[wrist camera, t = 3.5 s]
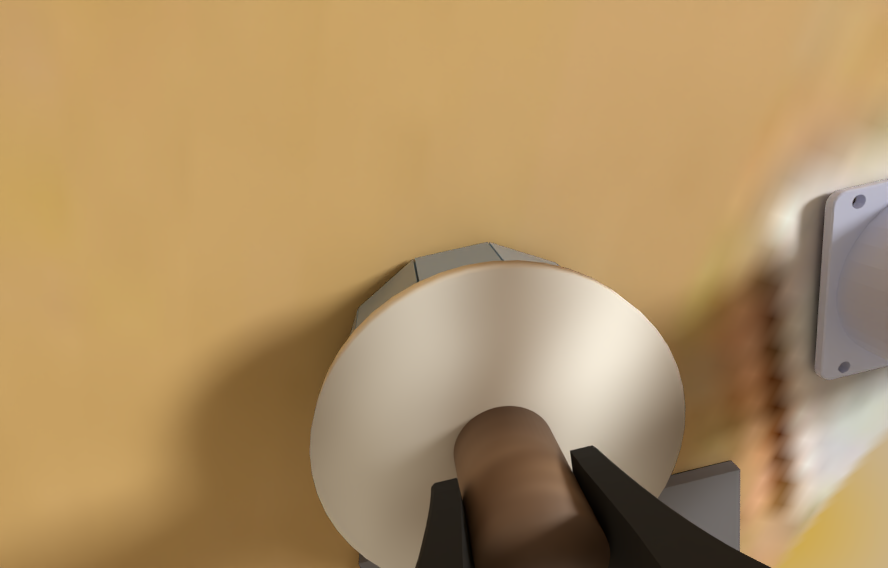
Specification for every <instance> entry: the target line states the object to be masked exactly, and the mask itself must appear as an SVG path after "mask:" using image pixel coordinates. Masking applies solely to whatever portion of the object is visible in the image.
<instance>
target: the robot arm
mask: <svg viewBox="0 0 888 568" xmlns="http://www.w3.org/2000/svg"><path fill="white" fill-rule="evenodd" d="M855 197H856V201H855V203H854V204H853V205H852V202H853V199H854V198H855ZM840 364H841V365H840ZM839 365H840V366H839ZM886 366H888V179H885V180H880V181H876V182H871V183H867V184H863V185H858V186H854V187H849V188H845V189H840V190H837V191H835V192H833V193H832V194H831V195H830V196H829V198H828V199H827V201H826V205H825V218H824V233H823V248H822V264H821V279H820V294H819V309H818V325H817V340H816V355H815V373H816V374H817V375H818V376H820V377H822V378H823V379H826V380H832V379H836V378H840V377H844V376H848V375H852V374H857V373H861V372H865V371H869V370H873V369H877V368H882V367H886ZM570 456H571V463H572V470H573V474H574V476H575V478H576V480H577V481H578V483H579V485H580V487H581V489H582V491H583V493H584V495H585V497H586V499H587V501H588V503H589V505H590V507H591V509H592V510H593V512H594V514H595V516H596V518H597V520H598V522H599V524H600V526H601V528H602V530H603V532H604V534H605V536H606V538H607V540H608V543H609V547H610V561H609V565H608V568H771V567H769V566H767V565H765V564H763V563H761V562H759V561H757V560H755V559H753V558H751V557H749V556H747V555H745V554H743V553H741V552H740V551H738V550H736V549H734V548H732V547H731V546H729V545H727V544H725V543H724V542H722V541H720V540H719V539H717V538H715V537H714V536H712V535H710V534H709V533H707V532H706V531H704V530H702V529H701V528H699V527H698V526H696V525H695V524H693V523H692V522H690V521H689V520H687V519H686V518H684V517H683V516H681V515H680V514H679V513H677V512H676V511H674V510H673V509H671V508H670V507H669V506H667V505H666V504H664V503H663V502H662V501H660V500H659V499H658V498H656V497H655V496H654V495H653V494H651V493H650V492H649V491H647V490H646V489H645V488H643V487H642V486H641V485H640V484H638V483H637V482H636V481H635V480H633V479H632V478H631V477H630V476H628V475H627V474H626V473H625V472H624V471H622V470H621V469H620V468H619V467H618V466H617V465H615V464H614V463H613V462H612V461H611V460H610V459H608V458H607V457H606V456H605V455H604V454H603V453H602V452H601V451H599V450H598V449H597V448H596V447H594V446H593V445H591V446H587V447H583V448H579V449H575V450H570ZM415 568H475V566H474V561H473V556H472V550H471V545H470V539H469V531H468V526H467V521H466V516H465V511H464V506H463V500H462V496H461V492H460V488H459V483H458V479H457V478H453V479H449V480H445V481H441V482H437V483H434V484H433V486H432V487H431V497H430V506H429V512H428V518H427V523H426V528H425V532H424V536H423V541H422V545H421V549H420V553H419V556H418V560H417V563H416V566H415Z"/></svg>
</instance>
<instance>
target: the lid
mask: <svg viewBox="0 0 888 568" xmlns="http://www.w3.org/2000/svg"><path fill="white" fill-rule="evenodd" d="M684 428H685V399H684V390H683V384H682V381H681V377H680V373H679V370H678V366H677V364H676V362H675V360H674V357H673V355H672V353H671V351H670V349H669V347H668V345H667V344H666V342H665V341H664V339H663V338H662V336H661V335H660V333H659V332H658V330H657V329H656V328H655V327H654V326H653V325H652V323H651V322H650V321H649V320H648V319H647V318H646V317H645V316H644V315H643V314H642V313H641V312H640V311H639V310H637V309H636V308H635V307H634V306H632V305H631V304H630V303H628V302H627V301H626V300H625V299H623V298H622V297H621V296H620V295H618V294H617V293H616V292H614V291H613V290H612V289H611V288H609V287H607V286H605V285H603V284H602V283H600V282H598V281H596V280H595V279H593V278H591V277H589V276H586V275H584V274H581V273H579V272H576V271H573V270H571V269H568V268H564V267H560V266H556V265H551V264H547V263H542V262H532V261H522V260H508V261H489V262H483V263H476V264H470V265H465V266H461V267H458V268H454V269H451V270H447V271H444V272H441V273H438V274H436V275H433V276H431V277H429V278H426V279H424V280H422V281H419V282H417V283H415V284H413V285H412V286H410V287H408V288H406V289H405V290H403V291H401V292H400V293H398V294H396V295H395V296H393V297H391V298H390V299H389V300H388V301H386V302H385V303H384V304H382V305H381V306H380V307H379V308H377V309H376V310H375V311H373V312H372V313H371V314H370V315H369V316H368V317H367V318H366V319H365V320H364V321H363V322H362V323H361V324H360V325H359V326H358V327H357V328H356V329H355V330H354V331H353V333H352V334H351V335H350V337H349V338H348V339H347V341H346V342H345V343H344V345H343V346H342V347H341V349H340V350H339V352H338V353H337V355H336V357H335V359H334V361H333V362H332V364H331V366H330V368H329V370H328V371H327V374H326V377H325V379H324V382H323V385H322V387H321V390H320V393H319V397H318V401H317V405H316V409H315V414H314V418H313V423H312V428H311V437H310V461H311V470H312V476H313V480H314V484H315V487H316V491H317V494H318V497H319V499H320V501H321V503H322V506H323V508H324V510H325V512H326V514H327V516H328V517H329V519H330V520H331V522H332V523H333V525H334V526H335V528H336V529H337V531H338V532H339V533H340V534H341V535H342V536H343V537H344V539H345V540H346V541H347V542H348V543H349V544H350V545H351V546H352V547H353V548H354V549H355V550H357V551H358V552H359V553H360V554H361V555H363V556H364V557H365V558H366V559H368V560H369V561H371V562H372V563H374V564H375V565H377V566H379V567H380V568H415V566H416V563H417V560H418V556H419V553H420V549H421V545H422V541H423V536H424V532H425V528H426V523H427V518H428V512H429V506H430V497H431V487H432V486H433V484H434V483H437V482H441V481H445V480H449V479H453V478H457V479H458V483H459V488H460V492H461V496H462V500H463V506H464V511H465V516H466V521H467V526H468V531H469V539H470V545H471V550H472V556H473V561H474V566H475V568H608V565H609V561H610V547H609V543H608V540H607V538H606V536H605V534H604V532H603V530H602V528H601V526H600V524H599V522H598V520H597V518H596V516H595V514H594V512H593V510H592V509H591V507H590V505H589V503H588V501H587V499H586V497H585V495H584V493H583V491H582V489H581V487H580V485H579V483H578V481H577V480H576V478H575V476H574V474H573V470H572V463H571V456H570V450H575V449H579V448H583V447H587V446H591V445H593V446H594V447H596V448H597V449H598V450H599V451H601V452H602V453H603V454H604V455H605V456H606V457H607V458H608V459H610V460H611V461H612V462H613V463H614V464H615V465H617V466H618V467H619V468H620V469H621V470H622V471H624V472H625V473H626V474H627V475H628V476H630V477H631V478H632V479H633V480H635V481H636V482H637V483H638V484H640V485H641V486H642V487H643V488H645V489H646V490H647V491H649V492H650V493H651V494H653V495H654V496H655V497H656V498H658V497H659V495H660V494H661V492H662V491H663V489H664V488H665V486H666V484H667V482H668V480H669V478H670V475H671V473H672V471H673V469H674V467H675V464H676V461H677V458H678V455H679V452H680V449H681V444H682V439H683V433H684Z"/></svg>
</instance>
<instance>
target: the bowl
mask: <svg viewBox="0 0 888 568" xmlns="http://www.w3.org/2000/svg"><path fill="white" fill-rule="evenodd" d="M508 260H522V261H532V262H542V263H547V264H551V265H556V266H559V265H558V264H556V263H555V262H552V261H548V260H545V259H542V258H539V257H535V256H532V255H529V254H526V253H523V252H519V251H516V250H513V249H510V248H506V247H503V246H500V245H497V244H494V243H490V242H489V244H488V243H487V242H485V243H481V244H476V245H472V246H467V247H463V248H458V249H454V250H449V251H445V252H440V253H436V254H431V255H427V256H423V257H418V258H415V261H414V260H413V259H412V260H411V261H410V262H409V263H408V264H407V265H406V266H405V267H404V268H402V269H401V270H400V271H399V272H398V273H397V274H396V275H395V276H393V277H392V278H391V279H390V280H389V281H388V282H387V283H386V284H384V285H383V286H382V287H381V288H380V289H379V290H378V291H377V292H375V293H374V294H373V295H372V296H371V297H370V298H369V299H368V300H367V301H365V302H364V303H363V304H362V305H361V306H360V307H359V309H358V310H357V313H356V317H355V320H354V323H353V327H352V330H351V333H350V335H351V334H352V333H353V331H354V330H355V329H356V328H357V327H358V326H359V325H360V324H361V323H362V322H363V321H364V320H365V319H366V318H367V317H368V316H369V315H370V314H371V313H372V312H373V311H375V310H376V309H377V308H379V307H380V306H381V305H382V304H384V303H385V302H386V301H388V300H389V299H390V298H391V297H393V296H395V295H396V294H398V293H400V292H401V291H403V290H405V289H406V288H408V287H410V286H412V285H413V284H415V283H417V282H419V281H422V280H424V279H426V278H429V277H431V276H433V275H436V274H438V273H441V272H444V271H447V270H451V269H454V268H458V267H461V266H465V265H470V264H476V263H483V262H489V261H508ZM349 337H350V336H349Z"/></svg>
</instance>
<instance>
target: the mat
mask: <svg viewBox="0 0 888 568" xmlns="http://www.w3.org/2000/svg"><path fill="white" fill-rule="evenodd" d="M658 499H659V500H660V501H662V502H663V503H664V504H666V505H667V506H669V507H670V508H671V509H673V510H674V511H676V512H677V513H679V514H680V515H681V516H683V517H684V518H686V519H687V520H689V521H690V522H692V523H693V524H695V525H696V526H698V527H699V528H701V529H702V530H704V531H706V532H707V533H709V534H710V535H712V536H714V537H715V538H717V539H719V540H720V541H722V542H724V543H725V544H727V545H729V546H731V547H732V548H734V549H736V550H738V551H740V469H739V468H738V467H737V466H736V465H735V464H734V463H733V462H732V461H727V462H723V463H719V464H715V465H711V466H707V467H703V468H699V469H695V470H691V471H687V472H683V473H679V474H674V475H670V478H669V480H668V482H667V484H666V486H665V488H664V489H663V491H662V492H661V494H660V495H659V497H658ZM359 566H360V568H380V567H379V566H377V565H375V564H374V563H372V562H371V561H369V560H368V559H366V558H365V557H364V556H363V555H361V554H360V553H359Z"/></svg>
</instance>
